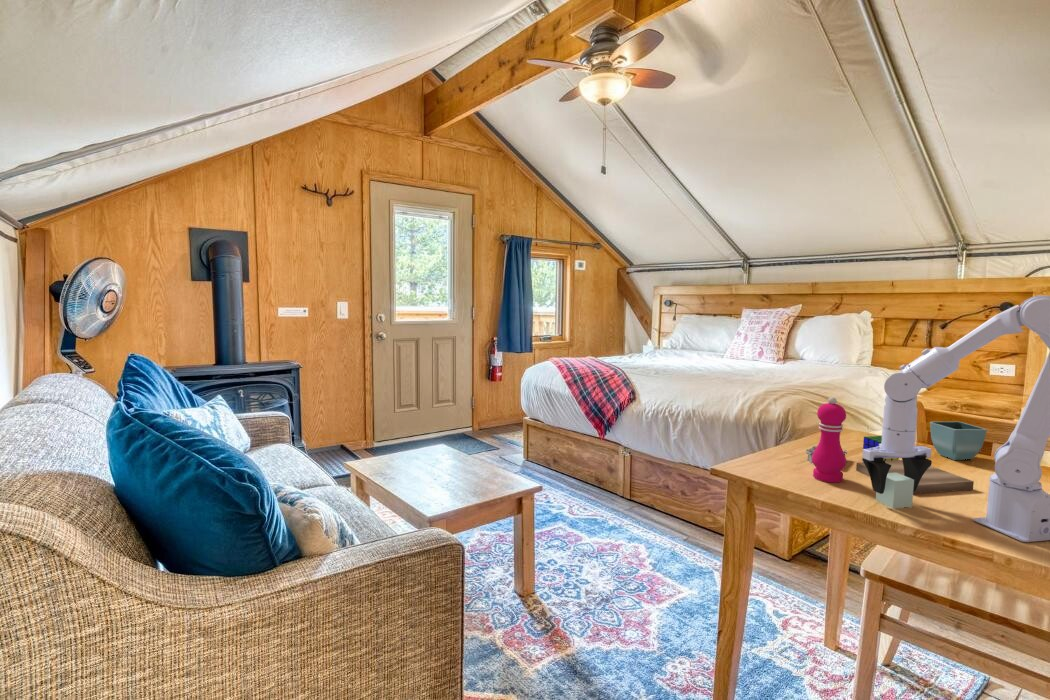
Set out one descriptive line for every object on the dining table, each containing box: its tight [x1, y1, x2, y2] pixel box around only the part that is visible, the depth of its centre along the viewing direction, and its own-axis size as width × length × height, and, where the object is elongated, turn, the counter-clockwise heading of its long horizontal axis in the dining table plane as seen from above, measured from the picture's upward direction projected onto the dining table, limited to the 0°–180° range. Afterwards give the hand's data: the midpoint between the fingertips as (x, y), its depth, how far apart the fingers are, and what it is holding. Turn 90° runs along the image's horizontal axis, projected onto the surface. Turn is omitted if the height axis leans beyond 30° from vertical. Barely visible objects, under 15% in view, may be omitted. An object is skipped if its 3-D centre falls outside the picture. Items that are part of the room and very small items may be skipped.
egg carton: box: [805, 444, 848, 464], centre depth 141 cm, size 11×8×4 cm
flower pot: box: [929, 421, 988, 461], centre depth 143 cm, size 9×9×9 cm
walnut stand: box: [855, 459, 975, 495], centre depth 127 cm, size 16×16×2 cm
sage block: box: [875, 473, 914, 510], centre depth 112 cm, size 4×4×6 cm
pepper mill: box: [812, 396, 847, 484], centre depth 127 cm, size 7×7×20 cm
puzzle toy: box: [862, 435, 899, 461], centre depth 142 cm, size 6×6×6 cm
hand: (894, 490), depth 113 cm, fingers open, 7 cm apart
